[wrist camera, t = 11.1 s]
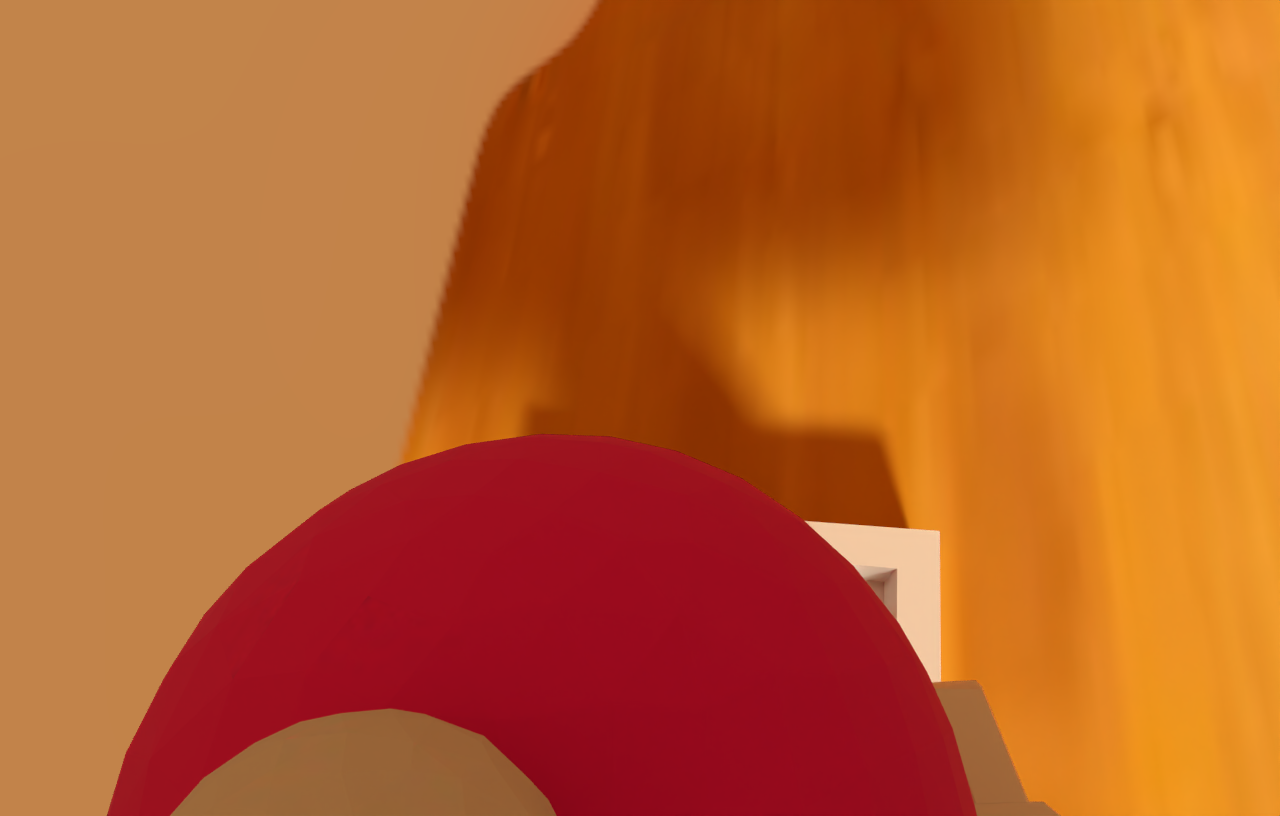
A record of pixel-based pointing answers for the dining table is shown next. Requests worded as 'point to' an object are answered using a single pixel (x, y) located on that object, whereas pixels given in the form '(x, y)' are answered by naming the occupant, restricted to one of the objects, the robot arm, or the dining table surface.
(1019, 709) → the dining table surface
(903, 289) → the dining table surface
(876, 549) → the mill holder
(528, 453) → the pepper mill
